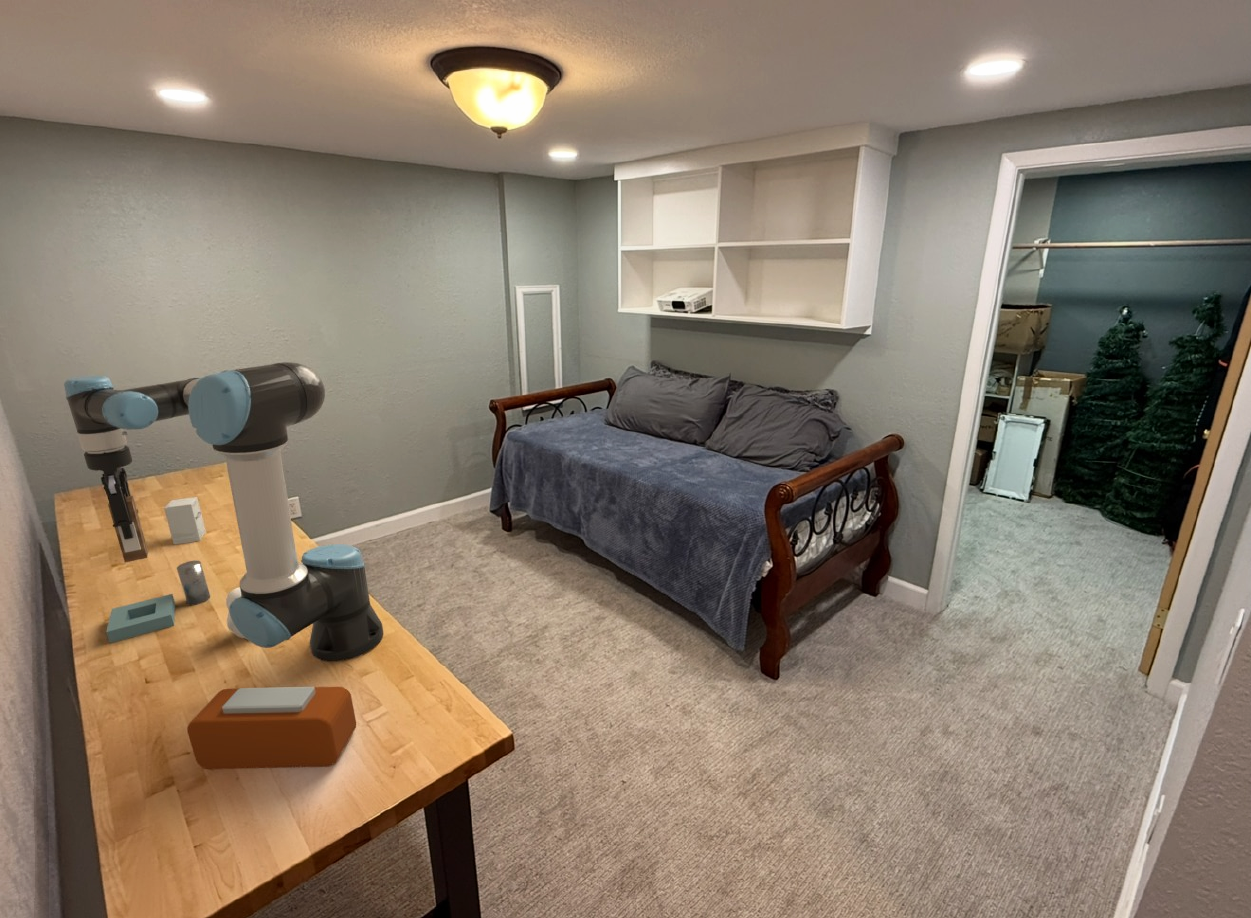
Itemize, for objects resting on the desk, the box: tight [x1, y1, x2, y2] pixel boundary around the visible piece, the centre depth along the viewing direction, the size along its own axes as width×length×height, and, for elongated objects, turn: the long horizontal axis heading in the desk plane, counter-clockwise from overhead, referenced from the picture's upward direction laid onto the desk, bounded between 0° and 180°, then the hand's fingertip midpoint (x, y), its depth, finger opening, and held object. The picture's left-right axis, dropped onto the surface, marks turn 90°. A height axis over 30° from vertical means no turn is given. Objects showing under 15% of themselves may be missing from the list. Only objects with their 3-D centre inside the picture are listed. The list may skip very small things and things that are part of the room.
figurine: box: [225, 586, 246, 639], centre depth 138 cm, size 7×8×12 cm
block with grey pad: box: [186, 686, 357, 770], centre depth 103 cm, size 24×8×11 cm, turn 91°
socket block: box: [105, 593, 176, 644], centre depth 143 cm, size 12×12×3 cm
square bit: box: [107, 495, 149, 563], centre depth 133 cm, size 4×4×14 cm
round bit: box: [176, 560, 211, 606], centre depth 152 cm, size 5×5×10 cm
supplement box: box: [163, 496, 207, 546], centre depth 188 cm, size 7×7×13 cm
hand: (133, 546), depth 135 cm, fingers closed on square bit, 4 cm apart
